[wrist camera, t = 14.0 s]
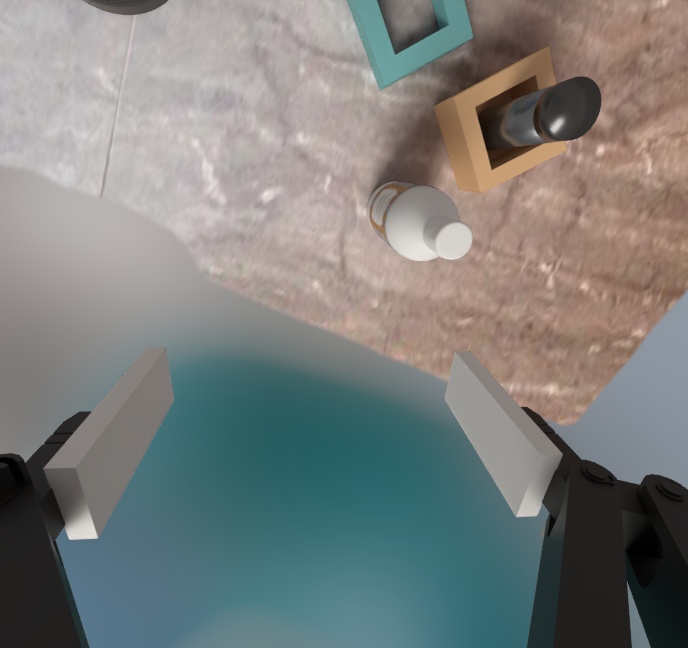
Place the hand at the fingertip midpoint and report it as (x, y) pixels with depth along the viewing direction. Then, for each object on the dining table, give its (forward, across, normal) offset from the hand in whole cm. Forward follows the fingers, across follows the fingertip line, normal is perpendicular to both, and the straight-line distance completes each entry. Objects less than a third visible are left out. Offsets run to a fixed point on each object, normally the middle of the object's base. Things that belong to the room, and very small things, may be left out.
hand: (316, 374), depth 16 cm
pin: (+31, +21, +14) cm, 40 cm away
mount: (+32, +9, +24) cm, 41 cm away
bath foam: (+32, +11, +4) cm, 34 cm away
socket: (+32, +21, +14) cm, 40 cm away
